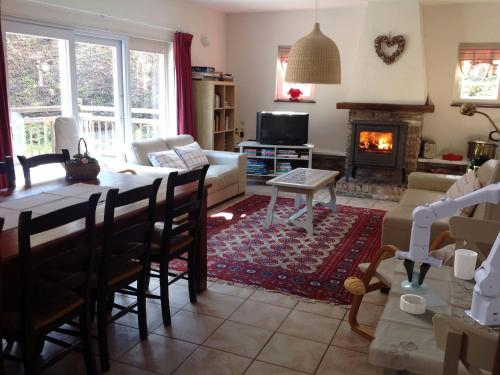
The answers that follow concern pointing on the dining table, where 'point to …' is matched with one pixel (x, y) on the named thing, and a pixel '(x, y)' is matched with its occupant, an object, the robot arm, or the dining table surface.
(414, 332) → the dining table surface
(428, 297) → the mat
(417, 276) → the lid
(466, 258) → the white cup
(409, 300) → the bowl
